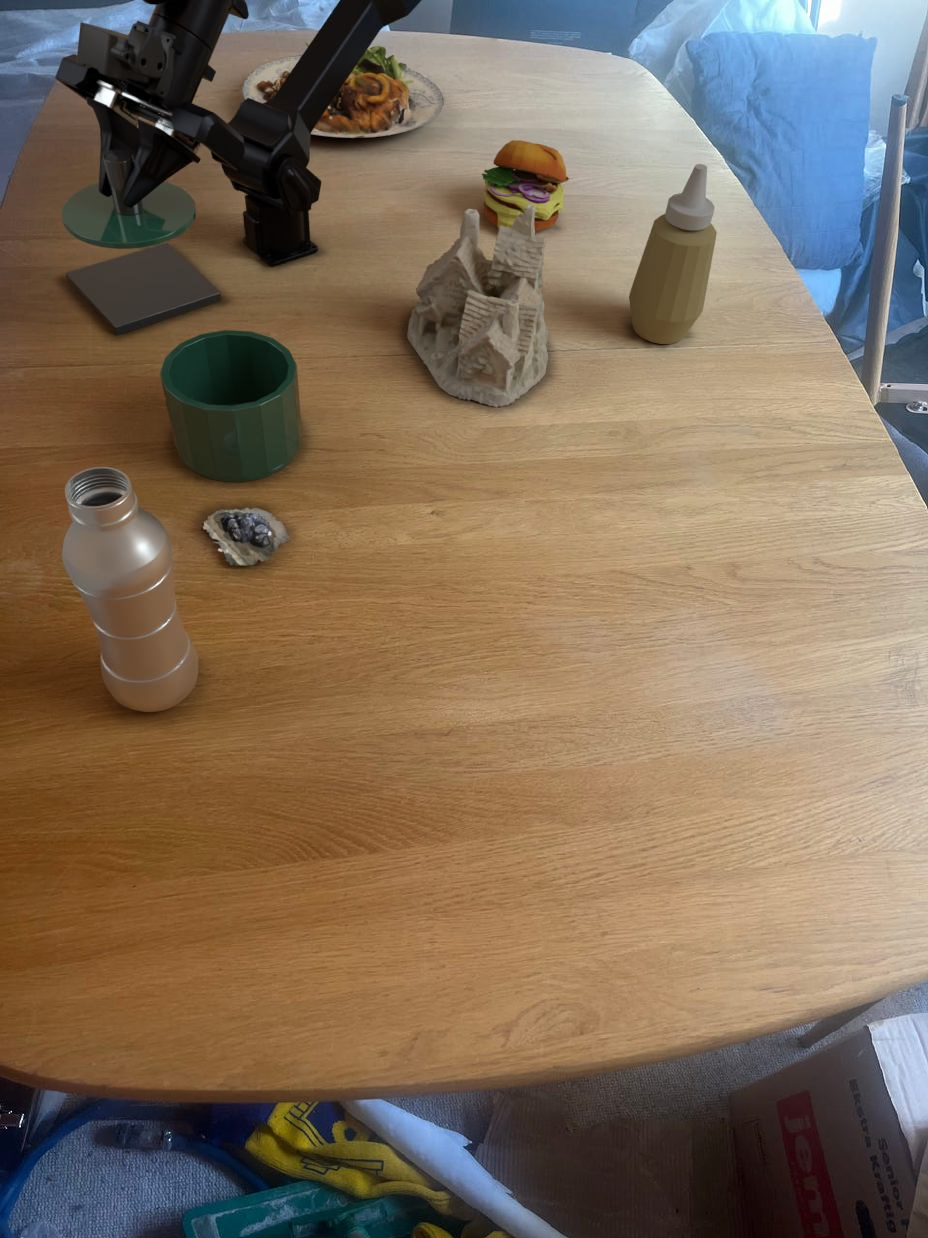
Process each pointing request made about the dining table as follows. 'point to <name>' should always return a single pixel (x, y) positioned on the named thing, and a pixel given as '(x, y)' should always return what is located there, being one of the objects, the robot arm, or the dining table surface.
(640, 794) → the dining table surface
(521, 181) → the cheeseburger
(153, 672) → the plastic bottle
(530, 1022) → the dining table surface
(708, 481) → the dining table surface
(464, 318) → the ceramic cottage
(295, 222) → the robot arm
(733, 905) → the dining table surface
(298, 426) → the pot
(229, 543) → the grey lumpy flat piece
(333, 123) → the plate of food
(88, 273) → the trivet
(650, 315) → the squeeze bottle
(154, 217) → the pot lid
